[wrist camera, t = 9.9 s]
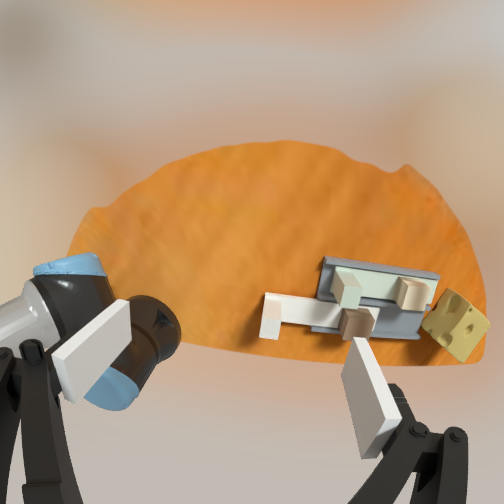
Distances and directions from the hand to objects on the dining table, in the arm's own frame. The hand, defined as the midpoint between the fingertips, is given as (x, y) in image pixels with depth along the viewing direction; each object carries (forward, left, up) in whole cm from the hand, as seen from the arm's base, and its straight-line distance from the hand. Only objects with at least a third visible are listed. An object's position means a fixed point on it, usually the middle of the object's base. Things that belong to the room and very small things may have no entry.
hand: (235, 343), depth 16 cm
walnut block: (+18, -14, -35) cm, 41 cm away
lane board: (+23, -10, -37) cm, 44 cm away
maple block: (+28, -7, -35) cm, 45 cm away
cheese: (+42, -12, -37) cm, 57 cm away
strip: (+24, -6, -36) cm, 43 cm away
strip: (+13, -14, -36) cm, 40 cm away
